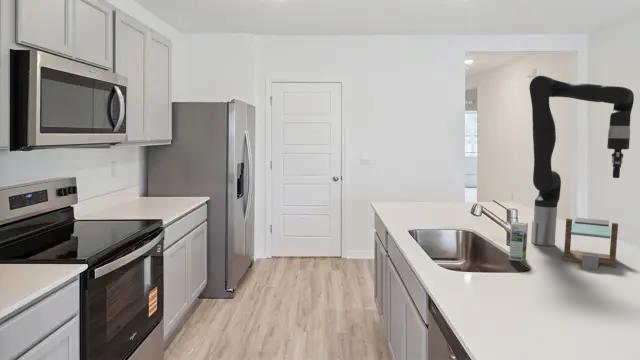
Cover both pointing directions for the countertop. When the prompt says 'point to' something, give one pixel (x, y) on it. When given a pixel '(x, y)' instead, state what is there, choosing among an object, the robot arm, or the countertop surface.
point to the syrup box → (518, 241)
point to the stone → (590, 261)
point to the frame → (578, 255)
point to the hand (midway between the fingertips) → (615, 177)
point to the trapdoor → (591, 228)
